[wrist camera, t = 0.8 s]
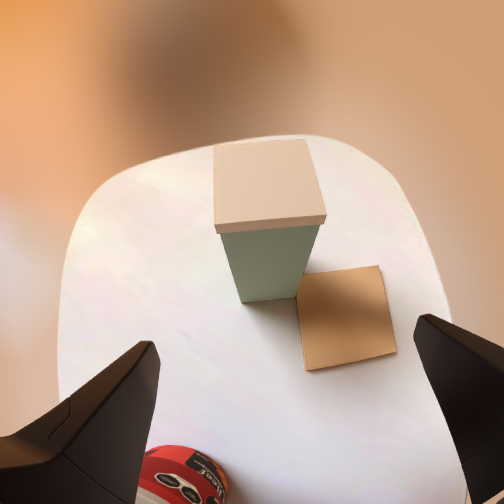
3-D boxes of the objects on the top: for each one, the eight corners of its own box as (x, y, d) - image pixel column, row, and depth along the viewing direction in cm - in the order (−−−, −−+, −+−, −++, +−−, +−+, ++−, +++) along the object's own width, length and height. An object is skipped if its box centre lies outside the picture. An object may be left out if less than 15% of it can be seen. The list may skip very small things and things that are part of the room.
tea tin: (295, 298, 23) (327, 214, 11) (240, 304, 23) (214, 224, 11) (288, 248, 25) (305, 139, 13) (236, 253, 25) (213, 146, 13)
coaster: (393, 352, 21) (396, 351, 20) (305, 370, 21) (306, 370, 20) (376, 267, 24) (378, 265, 23) (292, 278, 24) (293, 275, 23)
